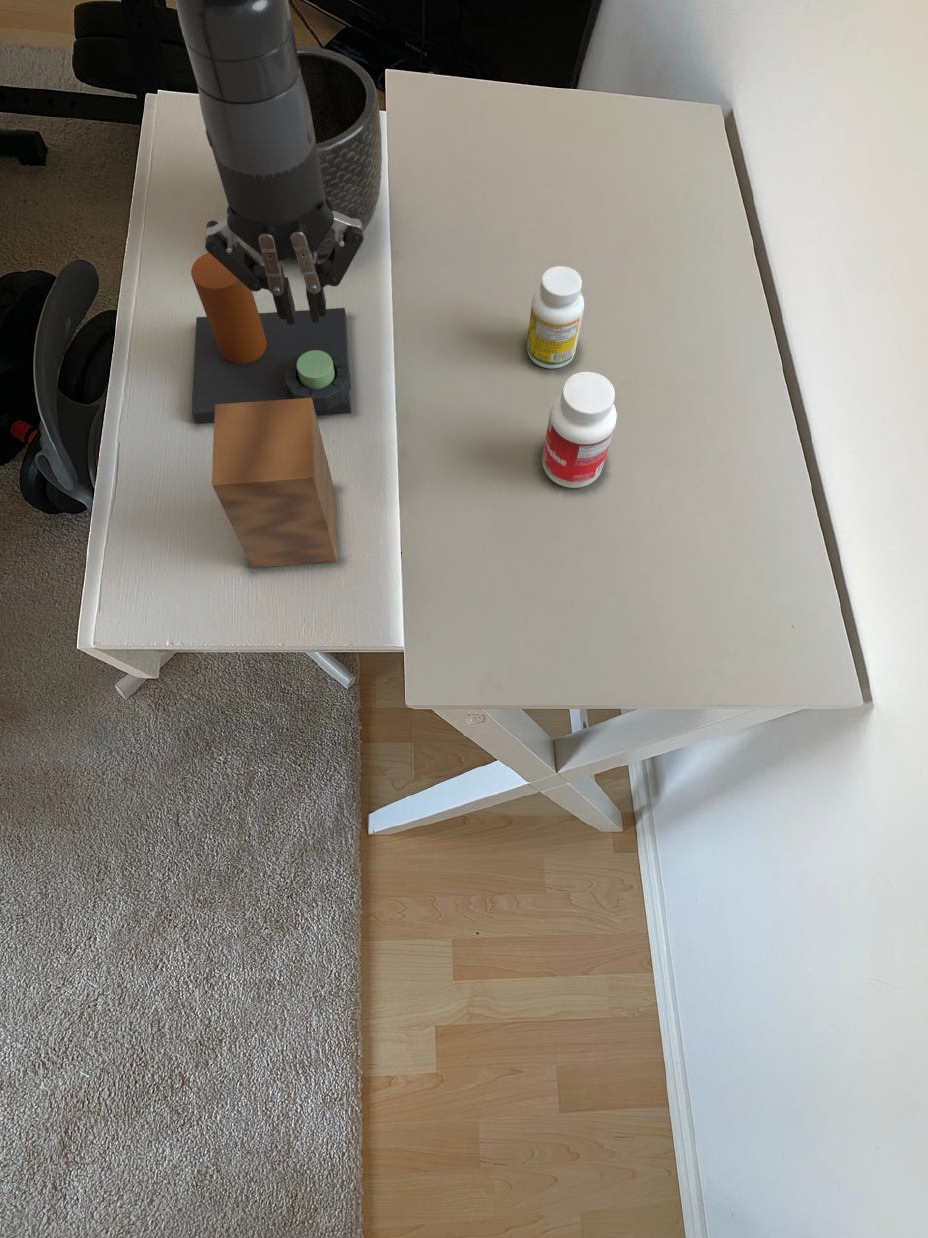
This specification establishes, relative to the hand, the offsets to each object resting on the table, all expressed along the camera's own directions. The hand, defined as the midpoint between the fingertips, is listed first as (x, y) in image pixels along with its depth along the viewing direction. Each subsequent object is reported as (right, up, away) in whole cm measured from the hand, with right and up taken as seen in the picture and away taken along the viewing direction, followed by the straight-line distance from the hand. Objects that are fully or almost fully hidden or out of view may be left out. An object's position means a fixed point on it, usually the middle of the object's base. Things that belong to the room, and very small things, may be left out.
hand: (303, 316), depth 73 cm
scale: (-5, -1, +11) cm, 13 cm away
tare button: (0, -3, +7) cm, 8 cm away
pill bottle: (+26, -12, +7) cm, 30 cm away
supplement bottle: (+24, +1, +13) cm, 28 cm away
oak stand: (-2, -19, +3) cm, 20 cm away
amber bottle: (-9, +1, +10) cm, 14 cm away
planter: (-2, +17, +20) cm, 27 cm away
